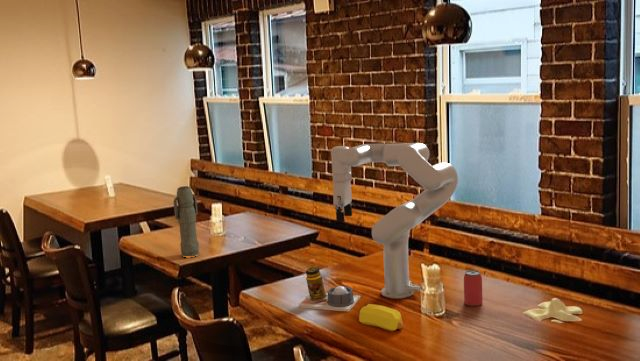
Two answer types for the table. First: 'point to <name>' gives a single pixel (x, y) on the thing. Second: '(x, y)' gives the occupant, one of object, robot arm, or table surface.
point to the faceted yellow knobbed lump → (381, 317)
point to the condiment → (315, 285)
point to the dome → (340, 290)
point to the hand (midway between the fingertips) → (344, 218)
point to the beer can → (473, 288)
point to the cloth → (554, 311)
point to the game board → (333, 301)
